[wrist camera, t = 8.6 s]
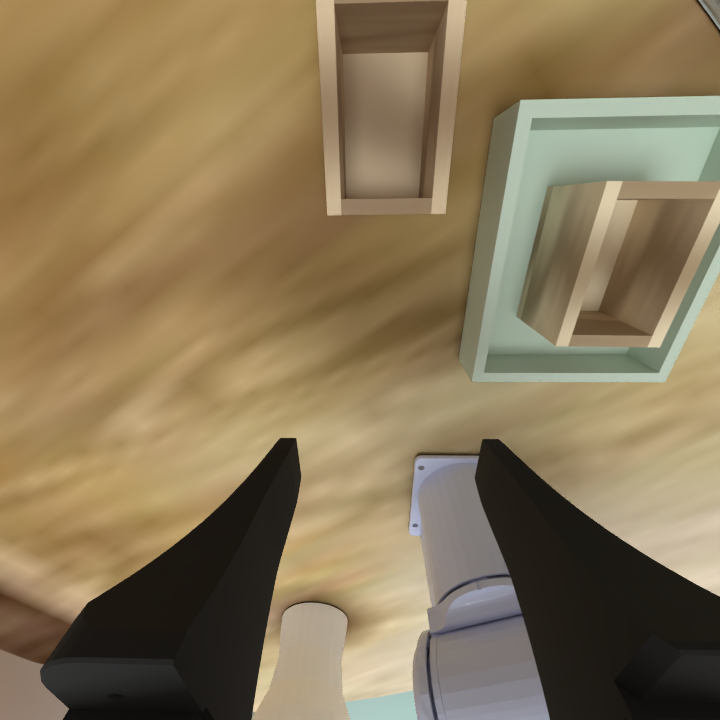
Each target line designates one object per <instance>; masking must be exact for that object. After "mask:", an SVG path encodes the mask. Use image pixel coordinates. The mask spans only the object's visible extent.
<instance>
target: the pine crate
mask: <svg viewBox="0 0 720 720" xmlns="http://www.w3.org/2000/svg"><path fill="white" fill-rule="evenodd" d="M719 222H720V181H602V182H592V183H582V184H572V185H561V186H551V187H547V190H546V194H545V198H544V202H543V207H542V211H541V215H540V219H539V223H538V228H537V232H536V236H535V240H534V244H533V248H532V253H531V257H530V261H529V265H528V269H527V274H526V278H525V282H524V286H523V290H522V295H521V299H520V303H519V307H518V311H517V315H516V317H518V318H519V319H520V320H522V321H523V322H524V323H525V324H527V325H528V326H529V327H531V328H532V329H533V330H535V331H536V332H537V333H539V334H540V335H541V336H543V337H544V338H545V339H547V340H548V341H549V342H551V343H552V344H553V345H555V346H576V347H657V348H660V346H661V344H662V342H663V340H664V338H665V336H666V334H667V331H668V329H669V327H670V325H671V323H672V321H673V319H674V317H675V315H676V313H677V311H678V308H679V306H680V304H681V302H682V300H683V298H684V296H685V294H686V292H687V290H688V287H689V285H690V283H691V281H692V279H693V277H694V275H695V273H696V271H697V269H698V267H699V264H700V262H701V260H702V258H703V256H704V254H705V252H706V250H707V248H708V246H709V243H710V241H711V239H712V237H713V235H714V233H715V231H716V229H717V227H718V225H719Z"/></svg>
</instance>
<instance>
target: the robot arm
mask: <svg viewBox="0 0 720 720" xmlns="http://www.w3.org/2000/svg"><path fill="white" fill-rule="evenodd" d="M421 465H422V466H421ZM419 466H421V467H419ZM300 481H301V471H300V464H299V456H298V448H297V441H296V438H280V439H279V440H278V441H277V443H276V444H275V445H274V446H273V448H272V449H271V450H270V451H269V453H268V454H267V455H266V456H265V458H264V459H263V460H262V461H261V462H260V464H259V465H258V466H257V467H256V468H255V469H254V470H253V472H252V473H251V474H250V475H249V476H248V477H247V479H246V480H245V481H244V482H243V483H242V484H241V485H240V486H239V487H238V488H237V489H236V490H235V491H234V492H233V493H232V494H231V495H230V497H229V498H228V499H227V500H226V501H225V502H224V503H222V504H221V505H220V506H219V507H218V508H217V509H216V510H215V511H214V512H213V513H212V514H211V515H210V516H209V517H207V518H206V519H205V520H204V521H203V522H202V523H201V524H199V525H198V526H197V527H196V528H195V529H193V530H192V531H191V532H190V533H189V534H187V535H186V536H185V537H184V538H182V539H181V540H180V541H179V542H177V543H176V544H175V545H174V546H172V547H171V548H170V549H168V550H167V551H166V552H164V553H163V554H161V555H160V556H159V557H157V558H156V559H155V560H153V561H152V562H150V563H149V564H147V565H146V566H145V567H143V568H142V569H140V570H139V571H137V572H136V573H134V574H133V575H131V576H130V577H128V578H127V579H125V580H124V581H122V582H120V583H119V584H117V585H116V586H114V587H112V588H111V589H109V590H108V591H106V592H105V593H103V594H101V595H100V596H98V597H97V598H95V599H93V600H92V601H90V602H88V603H87V605H86V606H85V607H84V609H83V610H82V611H81V613H80V614H79V615H78V616H77V618H76V619H75V620H74V622H73V623H72V625H71V626H70V628H69V629H68V631H67V632H66V633H65V635H64V636H63V638H62V639H61V641H60V642H59V644H58V645H57V646H56V648H55V649H54V651H53V652H52V654H51V655H50V657H49V658H48V659H47V661H46V662H45V664H44V665H43V667H42V668H41V670H40V674H41V681H42V683H43V684H44V685H45V686H46V688H47V689H48V690H49V691H51V692H52V693H53V694H54V695H55V696H56V697H57V698H58V699H59V700H60V701H62V703H64V704H65V705H66V706H67V707H68V708H69V710H68V712H67V713H66V715H65V717H64V719H63V720H251V718H252V711H253V705H254V698H255V692H256V686H257V679H258V673H259V667H260V661H261V655H262V650H263V644H264V638H265V632H266V627H267V622H268V616H269V611H270V605H271V600H272V595H273V590H274V585H275V580H276V575H277V571H278V567H279V563H280V559H281V556H282V552H283V549H284V545H285V542H286V539H287V535H288V532H289V528H290V525H291V521H292V518H293V514H294V511H295V507H296V504H297V499H298V493H299V487H300ZM409 534H410V535H412V536H421V542H422V549H423V555H424V561H425V568H426V574H427V580H428V586H429V593H430V599H431V603H432V607H431V608H428V609H427V613H428V620H429V627H430V630H426V631H424V632H422V633H421V635H420V637H419V640H418V643H417V648H416V650H415V654H414V659H413V689H414V699H415V706H416V713H417V719H418V720H720V597H719V596H717V595H715V594H713V593H711V592H710V591H708V590H706V589H704V588H702V587H700V586H698V585H696V584H694V583H693V582H691V581H689V580H687V579H686V578H684V577H682V576H680V575H679V574H677V573H675V572H673V571H672V570H670V569H668V568H666V567H665V566H663V565H661V564H660V563H658V562H656V561H655V560H653V559H651V558H650V557H648V556H646V555H645V554H643V553H642V552H640V551H638V550H637V549H635V548H634V547H632V546H631V545H629V544H628V543H626V542H624V541H623V540H621V539H620V538H618V537H617V536H615V535H614V534H612V533H611V532H609V531H608V530H606V529H605V528H604V527H602V526H601V525H600V524H598V523H597V522H595V521H594V520H593V519H591V518H590V517H588V516H587V515H586V514H584V513H583V512H582V511H580V510H579V509H578V508H576V507H575V506H574V505H573V504H571V503H570V502H569V501H568V500H566V499H565V498H564V497H563V496H561V495H560V494H559V493H558V492H556V491H555V490H554V489H553V488H552V487H551V486H549V485H548V484H547V483H546V482H545V481H544V480H543V479H541V478H540V477H539V476H538V475H537V474H536V473H535V472H534V471H532V470H531V469H530V468H529V467H528V466H527V465H526V464H525V463H524V462H523V461H522V460H521V459H519V458H518V457H517V456H516V455H515V454H514V453H513V452H512V451H511V450H510V449H509V448H508V447H507V446H506V445H504V444H503V443H502V442H501V441H500V440H499V439H483V440H482V445H481V449H480V454H479V456H443V455H420V456H417V457H416V458H415V464H414V475H413V486H412V497H411V508H410V520H409Z"/></svg>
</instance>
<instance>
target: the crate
mask: <svg viewBox="0 0 720 720" xmlns="http://www.w3.org/2000/svg"><path fill="white" fill-rule="evenodd" d="M466 4H467V0H316V11H317V29H318V48H319V67H320V86H321V105H322V124H323V143H324V162H325V181H326V200H327V215H393V214H445V213H446V203H447V193H448V183H449V173H450V163H451V153H452V143H453V133H454V123H455V113H456V103H457V94H458V84H459V74H460V64H461V54H462V44H463V34H464V24H465V14H466Z"/></svg>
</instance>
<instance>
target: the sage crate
mask: <svg viewBox="0 0 720 720" xmlns="http://www.w3.org/2000/svg"><path fill="white" fill-rule="evenodd" d="M602 181H720V96H687V97H638V98H590V99H542V100H520V101H518V102H517V103H515V104H514V105H512V106H511V107H510V108H508V109H507V110H505V111H504V112H502V113H501V114H499V115H498V116H496V117H495V118H494V120H493V127H492V134H491V140H490V147H489V154H488V161H487V168H486V175H485V182H484V189H483V195H482V202H481V209H480V216H479V223H478V230H477V237H476V243H475V250H474V257H473V264H472V271H471V278H470V285H469V291H468V298H467V305H466V312H465V319H464V326H463V333H462V340H461V346H460V353H459V361H460V363H461V364H462V366H463V368H464V369H465V371H466V373H467V374H468V376H469V378H470V380H471V381H472V382H665V381H666V379H667V377H668V375H669V373H670V371H671V369H672V367H673V365H674V363H675V361H676V359H677V357H678V355H679V353H680V351H681V349H682V347H683V345H684V343H685V341H686V339H687V337H688V335H689V332H690V330H691V328H692V326H693V324H694V322H695V320H696V318H697V316H698V314H699V312H700V310H701V308H702V306H703V304H704V302H705V300H706V298H707V296H708V294H709V292H710V290H711V288H712V286H713V284H714V282H715V280H716V278H717V276H718V274H719V272H720V222H719V225H718V227H717V229H716V231H715V233H714V235H713V237H712V239H711V241H710V243H709V246H708V248H707V250H706V252H705V254H704V256H703V258H702V260H701V262H700V264H699V267H698V269H697V271H696V273H695V275H694V277H693V279H692V281H691V283H690V285H689V287H688V290H687V292H686V294H685V296H684V298H683V300H682V302H681V304H680V306H679V308H678V311H677V313H676V315H675V317H674V319H673V321H672V323H671V325H670V327H669V329H668V331H667V334H666V336H665V338H664V340H663V342H662V344H661V346H660V348H657V347H576V346H555V345H553V344H552V343H551V342H549V341H548V340H547V339H545V338H544V337H543V336H541V335H540V334H539V333H537V332H536V331H535V330H533V329H532V328H531V327H529V326H528V325H527V324H525V323H524V322H523V321H522V320H520V319H519V318H518V317H516V315H517V311H518V307H519V303H520V299H521V295H522V290H523V286H524V282H525V278H526V274H527V269H528V265H529V261H530V257H531V253H532V248H533V244H534V240H535V236H536V232H537V228H538V223H539V219H540V215H541V211H542V207H543V202H544V198H545V194H546V190H547V187H551V186H561V185H572V184H582V183H592V182H602Z"/></svg>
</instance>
